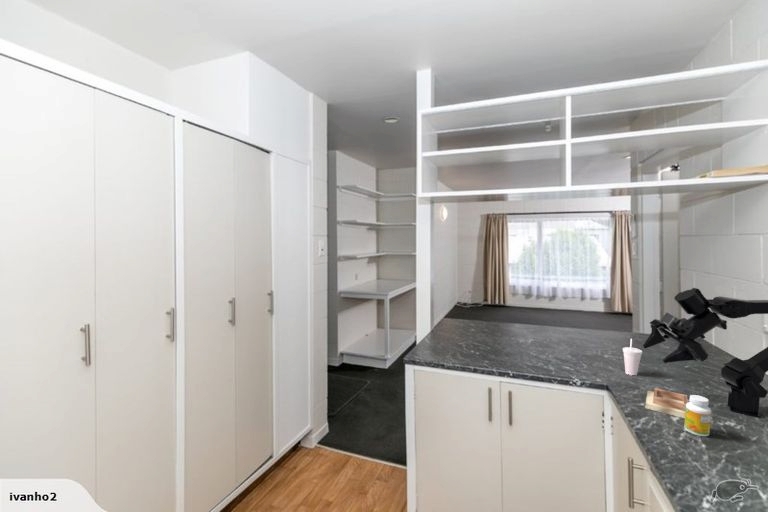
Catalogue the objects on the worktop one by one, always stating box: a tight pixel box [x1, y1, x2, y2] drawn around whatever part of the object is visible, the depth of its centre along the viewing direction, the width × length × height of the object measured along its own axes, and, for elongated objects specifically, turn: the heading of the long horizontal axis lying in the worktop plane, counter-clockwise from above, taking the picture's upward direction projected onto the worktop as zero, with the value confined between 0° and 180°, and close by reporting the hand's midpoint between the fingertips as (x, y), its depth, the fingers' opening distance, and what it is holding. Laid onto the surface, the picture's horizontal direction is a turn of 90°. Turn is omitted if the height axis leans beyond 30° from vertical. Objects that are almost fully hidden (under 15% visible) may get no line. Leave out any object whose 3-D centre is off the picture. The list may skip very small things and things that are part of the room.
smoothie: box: [622, 338, 643, 376], centre depth 140 cm, size 6×6×14 cm
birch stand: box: [644, 387, 690, 419], centre depth 114 cm, size 12×12×4 cm
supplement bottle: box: [683, 394, 712, 437], centre depth 100 cm, size 5×5×10 cm
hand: (653, 354), depth 116 cm, fingers open, 9 cm apart
